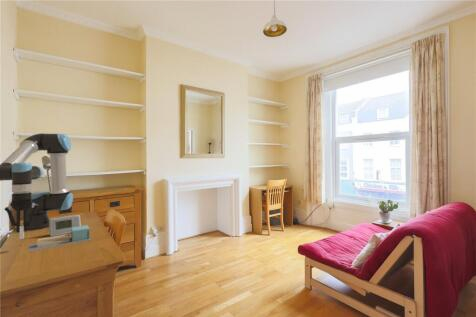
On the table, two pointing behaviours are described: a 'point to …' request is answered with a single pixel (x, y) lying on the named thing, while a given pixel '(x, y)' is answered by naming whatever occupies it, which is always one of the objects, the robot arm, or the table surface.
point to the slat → (53, 240)
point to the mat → (34, 246)
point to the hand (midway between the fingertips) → (21, 238)
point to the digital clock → (63, 224)
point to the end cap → (80, 233)
